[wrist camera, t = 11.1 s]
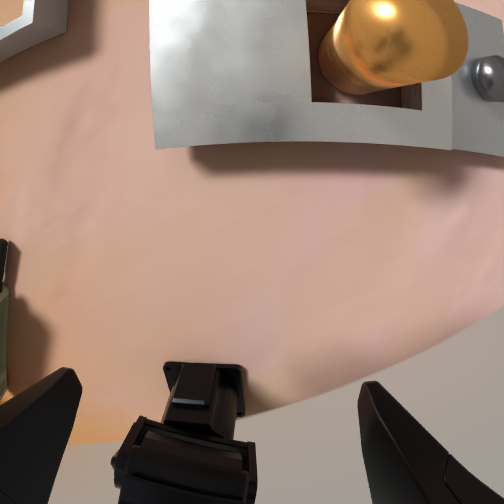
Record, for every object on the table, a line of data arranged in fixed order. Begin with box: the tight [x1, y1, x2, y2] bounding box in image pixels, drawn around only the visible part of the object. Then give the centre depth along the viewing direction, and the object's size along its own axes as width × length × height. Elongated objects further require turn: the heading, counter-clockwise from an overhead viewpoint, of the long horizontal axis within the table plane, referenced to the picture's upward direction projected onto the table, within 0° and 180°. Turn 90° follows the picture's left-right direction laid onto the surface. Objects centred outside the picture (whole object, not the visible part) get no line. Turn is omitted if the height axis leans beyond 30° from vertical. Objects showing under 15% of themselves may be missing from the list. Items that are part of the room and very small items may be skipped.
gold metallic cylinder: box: [318, 0, 469, 95], centre depth 12 cm, size 4×4×9 cm
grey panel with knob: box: [150, 0, 504, 157], centre depth 14 cm, size 10×22×3 cm, turn 93°
